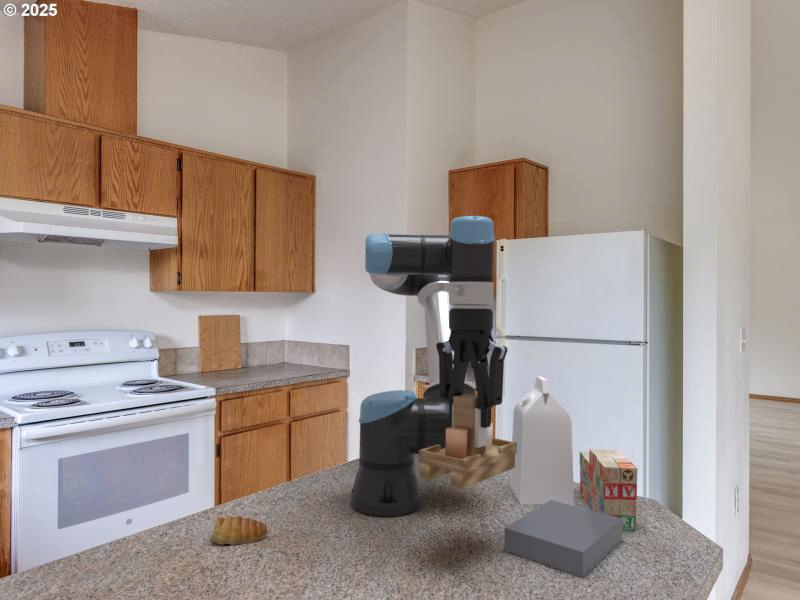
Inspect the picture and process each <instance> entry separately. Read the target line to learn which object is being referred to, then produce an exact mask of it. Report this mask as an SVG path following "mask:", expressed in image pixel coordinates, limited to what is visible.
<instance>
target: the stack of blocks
mask: <svg viewBox="0 0 800 600" xmlns="http://www.w3.org/2000/svg"><path fill="white" fill-rule="evenodd" d="M638 470H639V469H638V467H637V466H636V465H635V464H634V463H633V461H631V460H630V459H629V458H628V457H627V456H626V455H625V454H623V453H622V452H621V451H620V450H618V449H600V448H599V449H597V448H596V449H594V448H589V451H579V492H580V493H581V495H582V497H583V499H584V500H585V502H586V503H587V506H588V507H589V509H590V510H591V511H595V512H599V513H603V514H607V515H611V516H615V517H618V518H622V519H623V531H630V532H636V531H637V530H636V529H637V528H636V526H637V499H638Z"/></svg>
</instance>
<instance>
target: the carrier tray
mask: <svg viewBox="0 0 800 600" xmlns="http://www.w3.org/2000/svg"><path fill="white" fill-rule="evenodd" d="M476 406H479V403H478V396H477V394H476V395H470V394H465V395H460V396H455V397H453V427H461V428H465V429H467V430H468V432H467V458H465V459H458V458H454V457H450V456H446V455H445V448H444V449H441V445H435V446H431V447H428V448H424V449H421V450H419V454H418V463H419V478H421V479H424V480H428V481H430V480H434V479H436V478H439V477H443V476H445V475H448V474H450V487H451V488H455V489H459V490H463V489H465V488H468V487H470V486H472V485H476V484H477V483H481V482H483V481H485V480H488V479H491V478H494V477H495V476H498V475H500V474H503V473H505V472H508V471H511V469H513V468H515V454H517V443H516V442H512V440H511V441H509V440H505V439H502V438H501V439H500V438H496V437H492V450H488V451H486V446H482V447H479V448H476V447H474V437H475V408H477V407H476Z"/></svg>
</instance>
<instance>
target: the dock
mask: <svg viewBox="0 0 800 600" xmlns="http://www.w3.org/2000/svg"><path fill="white" fill-rule="evenodd" d="M623 531H624V530H623V519H622V518H618V517H615V516H611V515H607V514H603V513H599V512H595V511H592V510H591V509H587V508H583V507H580V506H576V505H568V504H565V503H561V502H557V501H553V500H549V501H548V502H546V503H545V504H543V505H540V506H538V507H536V508H535V509H533V510H531V511H530V512H528V513H526V514H525V515H523V516H521V517H520V518H519V519H516V520H514V521H513V522H512V523H510V524H508V525H507V526H505V527H504V539H503V540H504V545H503V548H504V550H505V551H504V550H503V551H504V552H506V551H508V552H507V553H509V552H510V554H512V553H514V554H513V555H515V554H517V555H516V556H518V555H520V556H519V557H521V556H523V557H522V558H524V557H526V558H525V559H527V558H529V559H528V560H530V559H532V560H531V561H533V560H535V561H534V562H536V561H537V563H539V562H540V563H539V564H541V563H543V564H542V565H544V564H546V565H545V566H547V565H549V566H548V567H550V566H551V568H553V567H554V569H556V568H557V570H559V571H563V572H565V573H568V574H571V575H574V576H576V577H579V576H580V578H584V577H586V576H587V574H589V573H590V572H591V571H592V570H593V569H594V568H595V567H596V566H597V565H598V564H599V563H600V562H601V561H602V560H604V558H606V557H607V556H608V555H607V554H608V553H609V554H610V553H611V552H612V551H613V550H614V549H615V548H616V547H617V546H618V545H619V544H621V542H623ZM610 551H611V552H610ZM595 565H596V566H595ZM593 567H594V568H593ZM592 568H593V569H592ZM591 569H592V570H591ZM590 570H591V571H590ZM589 571H590V572H589Z"/></svg>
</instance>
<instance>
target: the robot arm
mask: <svg viewBox="0 0 800 600" xmlns="http://www.w3.org/2000/svg"><path fill="white" fill-rule="evenodd" d="M494 224H495V223H494V221H493V220H492V219H491V218H489V217H487V216H480V215H465V216H458V217H455V218H452V220H451V221H450V228H449V229H450V230H449V233H448V235H443V234H441V235H439V234H418V235H417V234H391V233H388V234H387V233H380V234H379V233H378V234H377V233H376V234H369V235H367V236H366V237H365V247H364V248H365V251H364V252H365V254H364V255H365V259H364V260H365V264H364V266H365V269H364V270H365V272H366V273H368V274H369V276H370V279H371V281H372V283H373V284H374V285H375V286H376V287H377V288H379V289H381V290H383V291H385V292H386V293H387V292H388V293H391V294H393V295H397V296H398V295H399V296H411V297H412V296H413V297H414V296H415V297H417V302H418V303H419V304H420V305H421V306H422V307H423V309H424V323H425V324H424V325H425V339H426V355H427V366H428V367H427V369H428V382H429V383H428V386H427V387H426V388H425V390H424V391H423V392H422V398H421V397H419V398H417V395H416V394H415V391H413V390H409V389H408V390H407V389H406V390H402V389H401V390H400V389H398V390H388V391H382V392H377V393H374V394H370V395H368V396H366V397H365V398H364V399H363V400H362V401H361V403H360V410H359V418H358V423H359V453H358V455H359V457H358V458H359V464H358V469H357V472H356V475H355V479H354V483H353V487H352V488H351V491H350V506H351V507H352V508H353V509H354V511H357V512H359V513H362V514H366V515H368V516H369V515H370V516H377V517H399V516H404V515H408V514H411V513H414V512H416V511H417V510H419V509H420V508H421V507H422V506H423V493H422V490H421V487H420V484H419V480H418V477H417V471H416V469H415V455H419V450H421V449H424V448H428V447H431V446H435V445H441V449H444V448H445V445H446V428H449V427H453V397H455V396H460V395H465V394H470V395H477V396H478V403H479V406H476V407H477V408H475V437H474V447H476V448H479V447H482V446H486V445H487V427H490V426H491V422H492V408H493V407H495V406H499V405H501V404H503V392H504V391H503V389H504V368H505V367H504V366H505V359H506V356H507V354H508V348H507V346H505V345H502V346H501V345H499V344H497V343H495V341H494V338H493V335H492V331H493V328H494V311H493V309H492V308H490V307H491V306H493V305H494V264H495V263H494V258H495V255H494V254H495V253H494V251H495V248H494V247H495V240H496V236H495V230H494V229H495V228H494ZM488 354H489V356H490V359H489V358H488ZM488 360H489V361H488ZM468 366H470V367H471V369H473V370H472V371H473V374H474V375H473V377H474V383H475V387H474V386H473V385H471V384H470V383H468V376H467V371H468ZM488 366H489V369H488ZM475 388H476V389H475Z"/></svg>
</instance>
